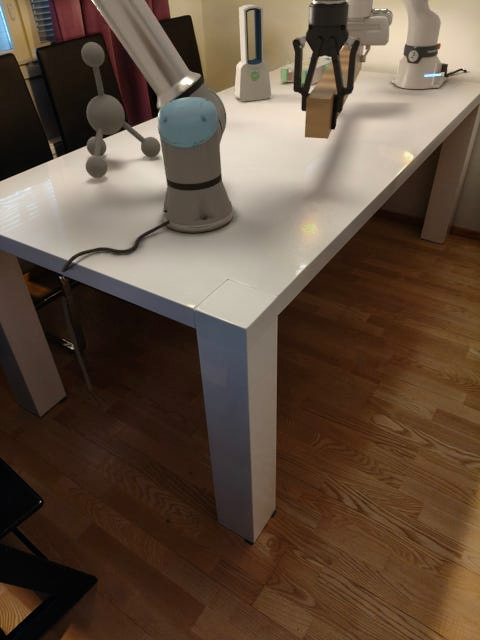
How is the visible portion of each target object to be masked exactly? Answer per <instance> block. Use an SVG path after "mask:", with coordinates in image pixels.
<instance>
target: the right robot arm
mask: <svg viewBox="0 0 480 640" xmlns="http://www.w3.org/2000/svg"><path fill="white" fill-rule="evenodd" d="M346 2H348V4H349V9H348V20H347V30H348V33H349V36H351V37H354V38H356V39H357V38H360V39H361V43H360V45H362V46H364V47H365V50H366V51H365V53H363V55H361V61H360V62H362V63H366V60H367V55H368V54H369V53H370V51H371V48H372V46H373V47H375V46H381V47H383V46H386V45H388V43H389V41H390V26H392V23H393V17H394V14H393V12H392V10H390V9H389V8H386V7H385V8H373V5H374V4H373V3H374V0H346ZM401 2H402V3H403V5H404V8H405V10H406V13H407V20H408V21H407V22H408V23H407V35H406V42H405V44H404V47H403V53H402V54H403V57H402V58H400V60H399V62H398V66H397V71H396V75H395V79H392V80H391V83H392V84H394V85H395V86H396V87H398V88H402V89H407V90H408V89H409V90H427V89H438V88H440V87H441V86H442V85H443V84H444V83H445V82H446V80H447V77H448V76H452V75H454V74H457V73H459V72H463V73H468V71H467V69H465V70H463V69H462V68H459V69H456V70H454V71H451V72H448V67H449V64H448V63H443V62H441V60H440V58H439V57H438V55H439V50H440V49H441V43H440V42H438V41H439V36H440V32H441V31H440V30H441V25H442V24H441V23H442V22H441V17H440V16H439V15H438V14H437V13H436V12H435V11H433V10H431V8H430V5H429V0H401ZM346 44H348V42H345V44H344V45H343V46H342V48H341V49H340V51H341V50H342V49H343V47H344V46H345V45H346ZM340 51H339V53H340ZM442 73H444V74H443V75H442Z"/></svg>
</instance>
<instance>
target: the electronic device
mask: <svg viewBox="0 0 480 640" xmlns="http://www.w3.org/2000/svg"><path fill="white" fill-rule="evenodd" d="M251 11H253V16H254V54H255V55H254V56H255V58H253V59H249V58H250V57H249V28H248V12H251ZM238 21H239V22H238V23H239V46H240V47H239V48H240V60H239V62H238V63H237V64H236V68H235V69H236V70H235V80H234V82H235V83H234V95H235V96H236V97H237V99H239V100H240V101H241V102H242V103H244V102H251V101H261V100H268V99H270V97H271V95H272V89H271V78H270V68H269V64H268V63H267V62H266V61H265V60H264V59H265V58H264V56H265V55H264V8H263V7H261V6H259V5H256V4H244V5H241V6H239V7H238Z"/></svg>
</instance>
